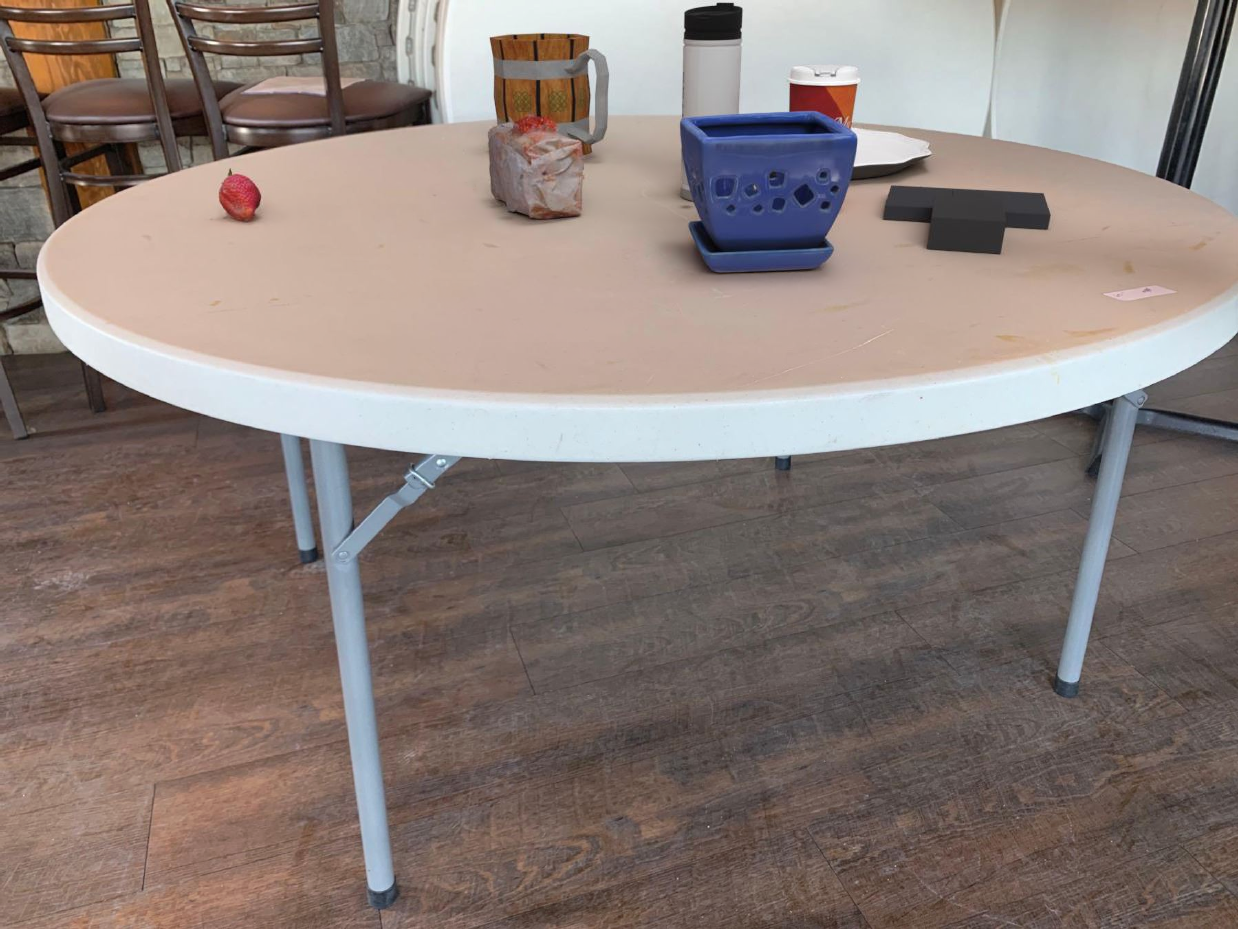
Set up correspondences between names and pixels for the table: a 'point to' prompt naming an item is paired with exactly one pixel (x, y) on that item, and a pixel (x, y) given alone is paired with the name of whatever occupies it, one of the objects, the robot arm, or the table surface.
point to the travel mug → (710, 65)
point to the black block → (967, 222)
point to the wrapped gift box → (536, 168)
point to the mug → (550, 82)
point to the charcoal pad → (919, 200)
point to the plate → (884, 153)
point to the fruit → (239, 196)
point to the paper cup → (824, 90)
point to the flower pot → (766, 187)
